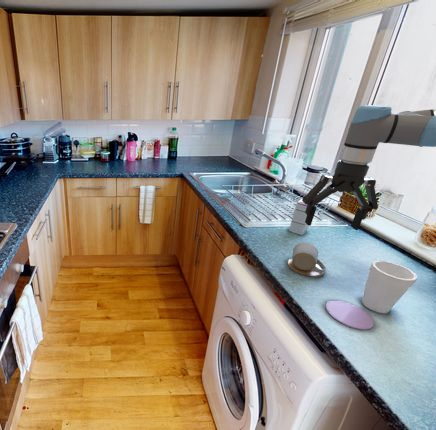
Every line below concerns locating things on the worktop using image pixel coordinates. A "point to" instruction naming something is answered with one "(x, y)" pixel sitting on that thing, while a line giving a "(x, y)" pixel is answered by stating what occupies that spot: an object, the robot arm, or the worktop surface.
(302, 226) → the syrup box
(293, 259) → the ceramic mug
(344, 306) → the lilac coaster
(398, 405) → the worktop surface
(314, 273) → the cork coaster
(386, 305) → the foam cup
